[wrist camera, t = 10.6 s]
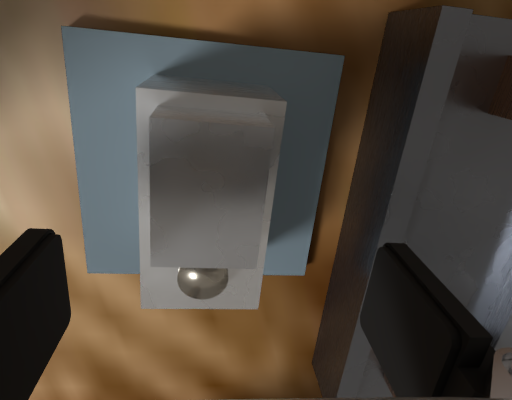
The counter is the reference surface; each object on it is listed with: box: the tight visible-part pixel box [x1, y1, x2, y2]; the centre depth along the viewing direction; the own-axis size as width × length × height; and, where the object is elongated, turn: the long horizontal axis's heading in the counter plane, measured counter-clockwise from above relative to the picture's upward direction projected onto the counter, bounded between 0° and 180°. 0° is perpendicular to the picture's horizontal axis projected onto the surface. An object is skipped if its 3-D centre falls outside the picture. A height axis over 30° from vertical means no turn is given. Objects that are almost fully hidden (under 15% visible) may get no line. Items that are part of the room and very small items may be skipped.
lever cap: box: [136, 74, 287, 309], centre depth 15 cm, size 9×5×6 cm, turn 174°
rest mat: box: [61, 26, 345, 275], centre depth 18 cm, size 12×12×1 cm
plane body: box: [312, 5, 512, 398], centre depth 18 cm, size 22×10×7 cm, turn 174°
